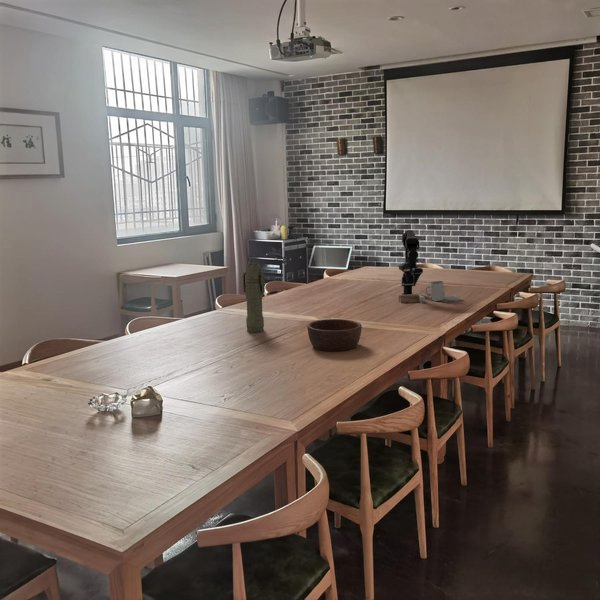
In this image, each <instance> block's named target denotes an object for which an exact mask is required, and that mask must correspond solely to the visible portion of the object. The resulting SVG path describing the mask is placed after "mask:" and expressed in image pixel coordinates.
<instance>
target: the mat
mask: <svg viewBox="0 0 600 600" xmlns="http://www.w3.org/2000/svg"><path fill="white" fill-rule="evenodd" d="M463 300H464V299H462V298H460V297H457V296H455V295H449V296H447V295H445V300H442V302H441V303H447V302H446V301H456V302H464V301H463Z"/></svg>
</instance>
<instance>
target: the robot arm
mask: <svg viewBox="0 0 600 600" xmlns="http://www.w3.org/2000/svg"><path fill="white" fill-rule="evenodd" d="M401 242H402V246H403V248H404V262H402V263H399V264H398V265H397V266H398V269H399V271H401V272H403V274H402V277H401V280H400V281H401V283H400V286H401V287H403V292H402V293H401V295H408V294H413V287H415V286H416V284H417V282H418V280H419V279H420V277H421V275H422V274H423V273H424V269H423V268H422V267H419V266H418V265H417V262H418V261H419V259H418V257H419V252H418V251H417V250H419V249H420V247H421V246H420V241H419V239H418V237H417V236H416V234H415V233H414V230H410V229H409V230H405V232H404V233H402V235H401Z"/></svg>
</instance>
